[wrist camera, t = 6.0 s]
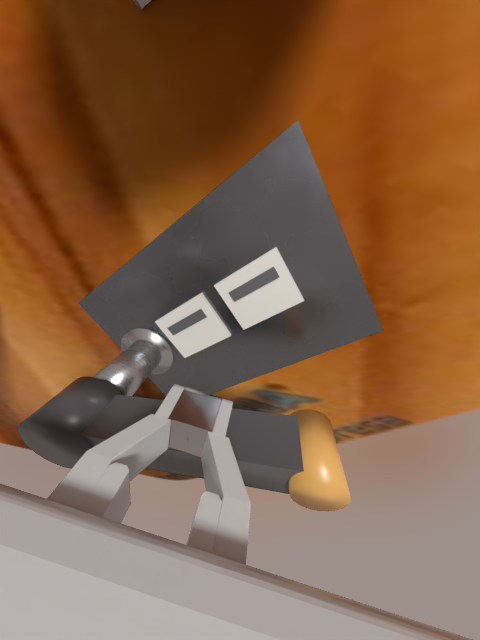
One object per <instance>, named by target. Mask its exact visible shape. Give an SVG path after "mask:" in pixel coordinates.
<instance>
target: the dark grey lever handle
mask: <svg viewBox="0 0 480 640" xmlns="http://www.w3.org/2000/svg"><path fill="white" fill-rule="evenodd" d="M163 401H164V400H158V399H150V398H142V397H134V396H125V395H122V394H121V393H120V392H119V391H118V390H117V389H116V388H114V387H113V386H112V385H110V384H108V383H107V382H105V381H102V380H100V379H97V378H93V377H81V378H78V379H76V380H75V381H74V382H73V383H71V384H70V385H69V386H67V387H66V388H65V389H64V390H62V391H61V392H60V393H59V394H57V395H56V396H55V397H54V398H52V399H51V400H50V401H49V402H47V403H46V404H45V405H44V406H42V407H41V408H40V409H38V410H37V411H36V412H35V413H33V414H32V415H31V416H30V417H28V418H27V419H26V420H25V421H23V422H22V423H21V424H20V425H19V427H18V432H19V435H20V437H21V439H22V440H23V441H24V442H25V444H26V445H27V446H28V447H29V448H31V449H32V450H33V451H34V452H35V453H37V454H38V455H40V456H41V457H43V458H45V459H46V460H48V461H50V462H52V463H55V464H57V465H60V466H63V467H66V468H71V469H72V468H73V467H74V466H75V464H76V463H77V462H78V461H79V460H80V458H81V457H82V456H83V455H84V454H85V452H86V451H88V450H89V449H91V448H93V447H95V446H96V445H98V444H100V443H101V442H103V441H105V440H107V439H108V438H110V437H112V436H114V435H115V434H117V433H119V432H121V431H122V430H124V429H126V428H127V427H129V426H131V425H133V424H134V423H136V422H138V421H140V420H141V419H143V418H145V417H147V416H148V415H150V414H154V415H155V413H156V412H157V410H158V409H159V407H160V405H161V404H162V402H163ZM225 437H228V438H229V440H230V443H231V446H232V449H233V452H234V455H235V458H236V461H237V464H238V467H239V470H240V473H241V476H242V479H243V482H244V485H245V486H248V487H253V488H259V489H265V490H270V491H276V492H281V493H287V494H290V496H291V498H292V499H293V500H294V501H295V502H296V503H298V504H299V505H301V506H303V507H306V508H309V509H312V510H317V511H335V510H339V509H342V508H344V507H346V506H347V505H348V504H349V503H350V501H351V497H350V493H349V489H348V485H347V482H346V478H345V474H344V470H343V467H342V463H341V459H340V456H339V452H338V449H337V445H336V441H335V437H334V433H333V430H332V426H331V422H330V420H329V419H328V417H327V416H326V415H324V414H323V413H321V412H318V411H315V410H299V411H296V412H294V413H292V414H291V415H283V414H274V413H266V412H258V411H250V410H241V409H233V408H232V410H231V415H230V419H229V423H228V428H227V432H226V436H225ZM146 468H148V469H153V470H159V471H164V472H170V473H176V474H181V475H187V476H192V477H198V478H204V473H203V467H202V461H201V457H199V456H196V455H193V454H190V453H187V452H184V451H180V450H177V449H173V448H170V447H168V449H167V450H166V451H165V452H164V453H162V454H161V455H160V456H159V457H158V458H157V459H155V460H154V461H153V462H152V463H151V464H150V465H148V466H147V467H146Z"/></svg>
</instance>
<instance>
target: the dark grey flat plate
mask: <svg viewBox="0 0 480 640" xmlns="http://www.w3.org/2000/svg"><path fill="white" fill-rule="evenodd" d="M275 247H277V249H278V251H279V253H280V255H281V257H282V259H283V260H284V262H285V264H286V266H287V268H288V270H289V272H290V274H291V276H292V278H293V279H294V281H295V283H296V285H297V287H298V289H299V291H300V293H301V295H302V297H303V298H304V301H303V302H301V303H299V304H297V305H295V306H293V307H291V308H288V309H286V310H284V311H282V312H280V313H278V314H276V315H274V316H272V317H270V318H268V319H265V320H263V321H261V322H259V323H257V324H255V325H253V326H251V327H249V328H247V329H245V330H243V328H242V327H241V325H240V324H239V323H238V321H237V320H236V318H235V317H234V315H233V314H232V312H231V311H230V309H229V308H228V306H227V305H226V303H225V302H224V300H223V299H222V297H221V296H220V294H219V293H218V291H217V290H216V288H215V287H214V285H215V284H216V283H218V282H219V281H221V280H223V279H224V278H226V277H228V276H229V275H231V274H233V273H234V272H236V271H237V270H239V269H241V268H242V267H244V266H246V265H247V264H249V263H250V262H252V261H254V260H255V259H257V258H259V257H260V256H262V255H263V254H265V253H267V252H268V251H270V250H272V249H273V248H275ZM200 293H203V295H204V296H205V297H206V299H207V300H208V302H209V303H210V305H211V306H212V307H213V309H214V310H215V312H216V313H217V314H218V316H219V317H220V319H221V320H222V322H223V323H224V324H225V326H226V327H227V329H228V330H229V332H230V333H231V336H230V337H228V338H226V339H224V340H222V341H220V342H217V343H215V344H213V345H211V346H209V347H207V348H205V349H203V350H201V351H199V352H197V353H194V354H192V355H190V356H188V357H186V358H184V357H183V356H182V354H181V353H180V352H179V351H178V349H177V348H176V347H175V346H174V345H173V343H172V342H171V341H170V340H169V339H168V337H167V336H166V335H165V334H164V333H163V331H162V330H161V329H160V328H159V327H158V325H157V324H156V323H155V321H156V320H158V319H159V318H161V317H163V316H164V315H166V314H167V313H169V312H171V311H172V310H174V309H176V308H177V307H179V306H180V305H182V304H184V303H185V302H187V301H189V300H190V299H192V298H193V297H195V296H197V295H198V294H200ZM79 304H80V305H81V306H82V307H83V308H84V309H85V311H86V312H87V313H88V314H89V315H90V316H91V317H92V318H93V319H94V320H95V321H96V322H97V323H98V324H99V325H100V327H101V328H102V329H103V330H104V331H105V332H106V333H107V334H108V335H109V336H110V337H111V338H112V339H113V340H114V341H115V342H116V344H117V345H118V346H119V347H120V348H121V340H122V338H123V336H124V335H125V334H126V333H127V332H128V331H130V330H132V329H136V328H143V329H148V330H151V331H153V332H155V333H157V334H159V335H160V336H161V337H162V338H164V339H165V340H166V342H167V343H168V344H169V346H170V347H171V350H172V353H173V362H172V365H171V367H170V368H169V369H168V370H167V371H166V372H164V373H161V374H150V375H149V376H148V378H149V379H150V380H151V381H152V382H153V383H154V384H155V385H156V386H157V387H158V388H159V389H160V390H161V391H162V392H163V393H164V395H165V396H167V394H168V393H169V391H170V389H171V388H172V386H173V385H174V384H177V385H180V386H183V387H187V388H190V389H193V390H196V391H199V392H203V393H206V394H212V393H215V392H217V391H220V390H223V389H225V388H228V387H231V386H234V385H236V384H239V383H242V382H245V381H247V380H250V379H253V378H255V377H258V376H261V375H264V374H266V373H269V372H272V371H274V370H277V369H280V368H283V367H285V366H288V365H291V364H294V363H296V362H299V361H302V360H304V359H307V358H310V357H313V356H315V355H318V354H321V353H323V352H326V351H329V350H332V349H334V348H337V347H340V346H342V345H345V344H348V343H351V342H353V341H356V340H359V339H362V338H364V337H367V336H370V335H372V334H375V333H378V332H381V331H383V329H382V326H381V324H380V321H379V319H378V316H377V314H376V311H375V309H374V306H373V304H372V301H371V299H370V296H369V294H368V292H367V289H366V287H365V284H364V282H363V279H362V277H361V274H360V272H359V269H358V267H357V264H356V262H355V259H354V257H353V254H352V252H351V249H350V247H349V245H348V242H347V240H346V237H345V235H344V232H343V230H342V227H341V225H340V222H339V220H338V217H337V215H336V212H335V210H334V207H333V205H332V202H331V200H330V198H329V195H328V193H327V190H326V188H325V185H324V183H323V180H322V178H321V175H320V173H319V170H318V168H317V165H316V163H315V160H314V158H313V155H312V153H311V151H310V148H309V146H308V143H307V141H306V138H305V136H304V133H303V131H302V128H301V126H300V123H299V121H298V120H297V121H296V122H295V123H294V124H293V125H291V126H290V127H289V128H288V129H287V130H285V131H284V132H283V133H282V134H281V135H279V136H278V137H277V138H276V139H275V140H273V141H272V142H271V143H270V144H269V145H267V146H266V147H265V148H264V149H263V150H261V151H260V152H259V153H258V154H257V155H255V156H254V157H253V158H252V159H251V160H249V161H248V162H247V163H246V164H245V165H243V166H242V167H241V168H240V169H239V170H237V171H236V172H235V173H234V174H233V175H231V176H230V177H229V178H228V179H227V180H225V181H224V182H223V183H222V184H221V185H219V186H218V187H217V188H216V189H215V190H213V191H212V192H211V193H210V194H209V195H207V196H206V197H205V198H204V199H203V200H201V201H200V202H199V203H198V204H197V205H195V206H194V207H193V208H192V209H190V210H189V211H188V212H187V213H186V214H184V215H183V216H182V217H181V218H180V219H178V220H177V221H176V222H175V223H174V224H172V225H171V226H170V227H169V228H168V229H166V230H165V231H164V232H163V233H162V234H160V235H159V236H158V237H157V238H156V239H154V240H153V241H152V242H151V243H150V244H148V245H147V246H146V247H145V248H144V249H142V250H141V251H140V252H139V253H138V254H136V255H135V256H134V257H133V258H132V259H130V260H129V261H128V262H127V263H126V264H124V265H123V266H122V267H121V268H120V269H118V270H117V271H116V272H115V273H114V274H112V275H111V276H110V277H109V278H108V279H106V280H105V281H104V282H103V283H102V284H100V285H99V286H98V287H97V288H96V289H94V290H93V291H92V292H91V293H90V294H88V295H87V296H86V297H85V298H84V299H82V300H81V301H80V302H79Z"/></svg>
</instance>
